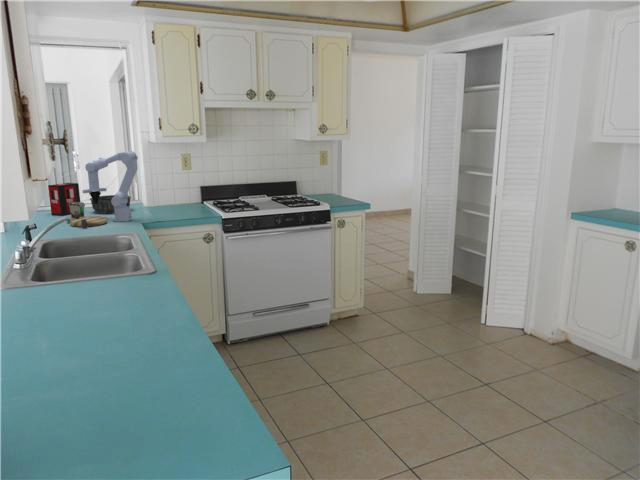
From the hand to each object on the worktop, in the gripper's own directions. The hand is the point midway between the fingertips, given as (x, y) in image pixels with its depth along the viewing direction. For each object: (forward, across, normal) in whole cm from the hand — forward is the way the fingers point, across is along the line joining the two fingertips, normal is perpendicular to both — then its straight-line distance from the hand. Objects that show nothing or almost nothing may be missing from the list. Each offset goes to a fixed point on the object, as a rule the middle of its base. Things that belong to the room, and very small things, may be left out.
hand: (96, 203), depth 309 cm
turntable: (+10, +10, +9) cm, 17 cm away
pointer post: (+10, +17, +18) cm, 27 cm away
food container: (+11, +4, -15) cm, 19 cm away
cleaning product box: (+11, +1, -38) cm, 40 cm away
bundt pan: (+11, -22, -22) cm, 33 cm away
